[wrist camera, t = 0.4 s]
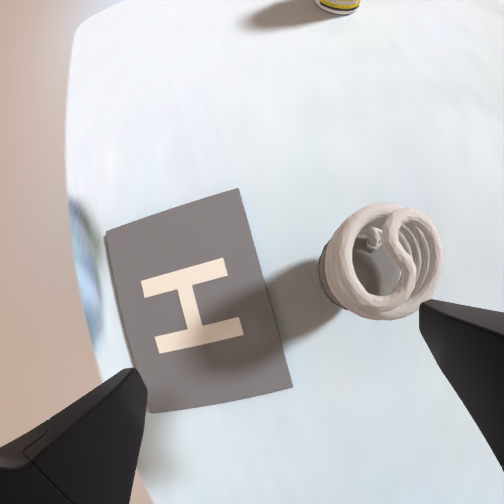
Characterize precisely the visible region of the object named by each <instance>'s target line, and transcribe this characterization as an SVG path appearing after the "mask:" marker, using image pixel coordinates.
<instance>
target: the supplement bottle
mask: <svg viewBox="0 0 504 504" xmlns="http://www.w3.org/2000/svg"><path fill="white" fill-rule="evenodd" d="M315 3H316V4H317V5H318V6H319V7H320V8H322V9H324V10H326V11H328V12H331V13H335V14H350V13H353V12H355V11H356V10H357V9H358V7H359V3H360V0H315Z"/></svg>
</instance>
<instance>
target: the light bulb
mask: <svg viewBox="0 0 504 504" xmlns="http://www.w3.org/2000/svg"><path fill="white" fill-rule="evenodd" d="M376 228H379V229H382V230H383V232H382V233H381V232H379V231H378V230H377V229H376ZM442 266H443V250H442V244H441V240H440V237H439V234H438V232H437V230H436V228H435V226H434V224H433V223H432V222H431V221H430V219H429V218H428V217H427V216H426V215H424V214H423V213H421V212H420V211H418V210H414V209H410V208H403V207H400V206H397V205H394V204H386V203H378V204H373V205H369V206H367V207H364V208H362V209H360V210H359V211H357V212H355V213H354V214H352V215H351V216H349V217H348V218H347V219H346V220H345V221H344V222H343V223H342V224H341V226H340V227H339V228H338V229H337V230H336V231H335V233H334V234H333V236H332V238H331V239H330V240H329V242H328V243H327V244H326V245H325V246H324V249H323V251H322V254H321V256H320V258H319V263H318V269H317V272H318V277H319V283H320V285H321V288H322V290H323V291H324V293H325V294H326V296H327V297H328V298H329V299H330V300H331V301H332V302H333V303H335V304H337V305H338V306H340V307H342V308H343V309H346V310H350V311H351V312H353V313H355V314H357V315H359V316H361V317H364V318H367V319H372V320H395V319H399V318H403V317H406V316H408V315H410V314H412V313H414V312H415V311H417V310H418V309H419V306H420V304H421V303H422V302H424V301H427V300H429V299H430V298H431V296H432V295H433V293H434V291H435V289H436V288H437V286H438V283H439V280H440V277H441V274H442ZM400 270H401V273H402V274H401V277H400ZM399 277H400V280H399Z"/></svg>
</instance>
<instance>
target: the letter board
mask: <svg viewBox="0 0 504 504" xmlns="http://www.w3.org/2000/svg"><path fill="white" fill-rule="evenodd" d="M106 237H107V243H108V249H109V255H110V260H111V266H112V271H113V276H114V281H115V286H116V291H117V295H118V300H119V304H120V308H121V313H122V317H123V321H124V325H125V329H126V333H127V337H128V340H129V344H130V348H131V351H132V355H133V358H134V362H135V365H136V368H137V370H138V372H139V374H140V376H141V377H142V379H143V381H144V383H145V385H146V387H147V391H148V397H147V402H148V405H149V408H150V411H151V413H159V412H167V411H175V410H183V409H189V408H196V407H202V406H208V405H214V404H220V403H225V402H230V401H236V400H241V399H245V398H250V397H255V396H259V395H264V394H268V393H272V392H276V391H280V390H284V389H288V388H292V387H293V384H292V381H291V377H290V373H289V370H288V366H287V362H286V359H285V355H284V351H283V348H282V344H281V340H280V337H279V333H278V329H277V326H276V322H275V318H274V315H273V311H272V307H271V304H270V300H269V297H268V293H267V289H266V286H265V282H264V278H263V275H262V271H261V268H260V264H259V260H258V257H257V253H256V249H255V246H254V242H253V239H252V235H251V231H250V228H249V224H248V221H247V217H246V213H245V210H244V206H243V203H242V199H241V195H240V192H239V189H238V188H236V189H233V190H230V191H226V192H223V193H220V194H216V195H213V196H210V197H207V198H203V199H200V200H197V201H194V202H191V203H187V204H184V205H181V206H178V207H175V208H172V209H169V210H166V211H163V212H160V213H157V214H154V215H151V216H148V217H145V218H142V219H139V220H137V221H134V222H131V223H128V224H125V225H122V226H120V227H117V228H114V229H111V230H109V231H106Z"/></svg>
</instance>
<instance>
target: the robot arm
mask: <svg viewBox="0 0 504 504" xmlns="http://www.w3.org/2000/svg"><path fill="white" fill-rule="evenodd" d="M419 329H420V332H421V334H422V336H423V338H424V340H425V342H426V343H427V345H428V347H429V349H430V351H431V353H432V355H433V356H434V358H435V360H436V362H437V364H438V366H439V367H440V369H441V370H442V372H443V374H444V375H445V376H446V378H447V379H448V381H449V382H450V384H451V385H452V387H453V388H454V390H455V391H456V393H457V394H458V396H459V397H460V399H461V400H462V402H463V404H464V405H465V407H466V408H467V410H468V411H469V413H470V415H471V416H472V418H473V419H474V421H475V423H476V424H477V426H478V427H479V429H480V431H481V432H482V434H483V436H484V437H485V439H486V441H487V442H488V444H489V446H490V448H491V449H492V451H493V453H494V455H495V456H496V458H497V460H498V462H499V463H500V465H501V467H502V469H503V471H504V313H503V312H498V311H492V310H487V309H481V308H476V307H471V306H465V305H460V304H455V303H449V302H444V301H439V300H433V299H430V300H427V301H424V302H422V303H421V304H420V306H419ZM147 397H148V391H147V387H146V385H145V383H144V381H143V379H142V377H141V376H140V374H139V372H138V370H137V369H136V368H126V369H123V370H121V371H120V372H119V373H117V374H116V375H114V376H113V377H111V378H110V379H108V380H107V381H105V382H104V383H102V384H101V385H99V386H98V387H96V388H95V389H93V390H92V391H90V392H89V393H87V394H86V395H85V396H83V397H81V398H80V399H78V400H77V401H76V402H74V403H72V404H71V405H69V406H68V407H66V408H65V409H63V410H62V411H60V412H59V413H57V414H56V415H54V416H53V417H51V418H50V420H47V421H45V422H44V423H42V424H40V425H39V426H37V427H36V428H34V429H32V430H31V431H29V432H27V433H26V434H24V435H22V436H21V437H19V438H17V439H15V440H13V441H12V442H10V443H8V444H6V445H4V446H2V447H0V504H129V502H130V496H131V491H132V486H133V480H134V475H135V470H136V465H137V460H138V456H139V451H140V446H141V442H142V437H143V432H144V424H145V414H146V405H147Z"/></svg>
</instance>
